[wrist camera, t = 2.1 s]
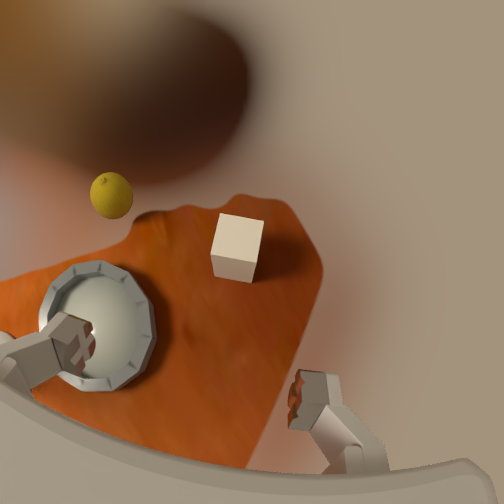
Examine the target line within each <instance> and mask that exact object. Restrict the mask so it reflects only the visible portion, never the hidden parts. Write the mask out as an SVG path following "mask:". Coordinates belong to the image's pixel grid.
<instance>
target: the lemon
mask: <svg viewBox="0 0 504 504" xmlns="http://www.w3.org/2000/svg"><path fill="white" fill-rule="evenodd" d="M90 196H91V201H92V204H93V206H94V208H95V209H96V210H97V212H98V213H99V214H100V215H102V216H103V217H105V218H108V219H118V218H121V217H123V216H124V215H125V214H126V213H127V212H128V211H129V210H130V208H131V205H132V202H133V194H132V190H131V187H130V185H129V184H128V182H127V181H126V180H125V179H124V178H123V177H122V176H120V175H118V174H116V173H111V172H109V173H104V174H102V175H100V176H99V177H98V178H96V180H95V181H94V182H93V184H92V187H91V191H90Z"/></svg>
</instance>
